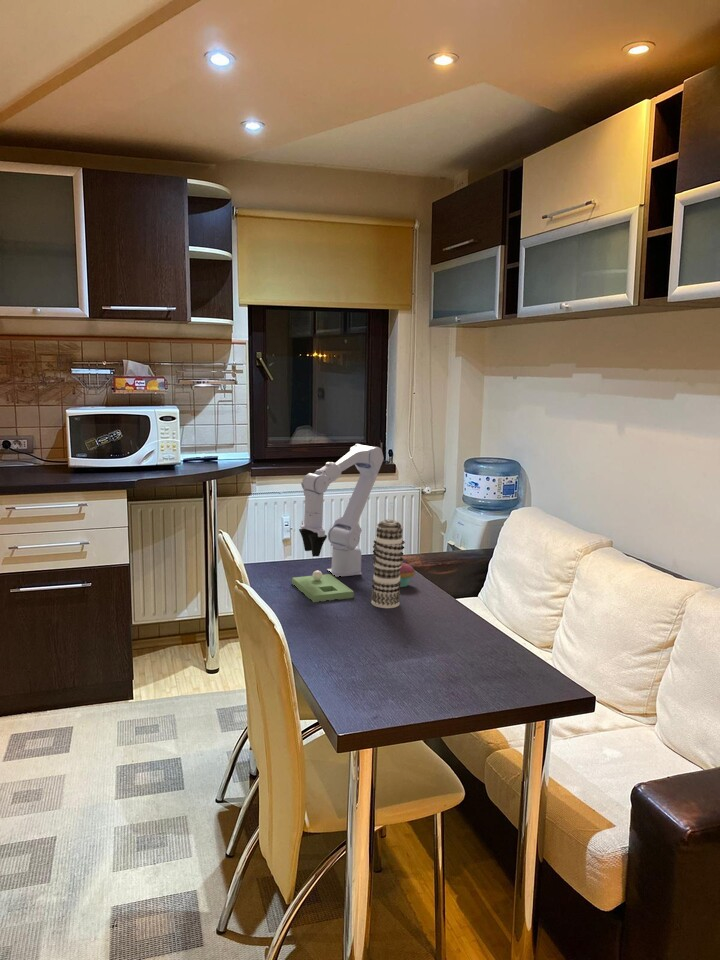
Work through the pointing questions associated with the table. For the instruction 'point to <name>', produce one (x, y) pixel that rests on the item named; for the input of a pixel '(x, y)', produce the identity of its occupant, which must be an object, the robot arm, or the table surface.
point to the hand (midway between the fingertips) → (312, 553)
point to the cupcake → (405, 574)
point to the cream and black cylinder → (387, 564)
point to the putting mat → (322, 588)
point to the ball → (317, 575)
